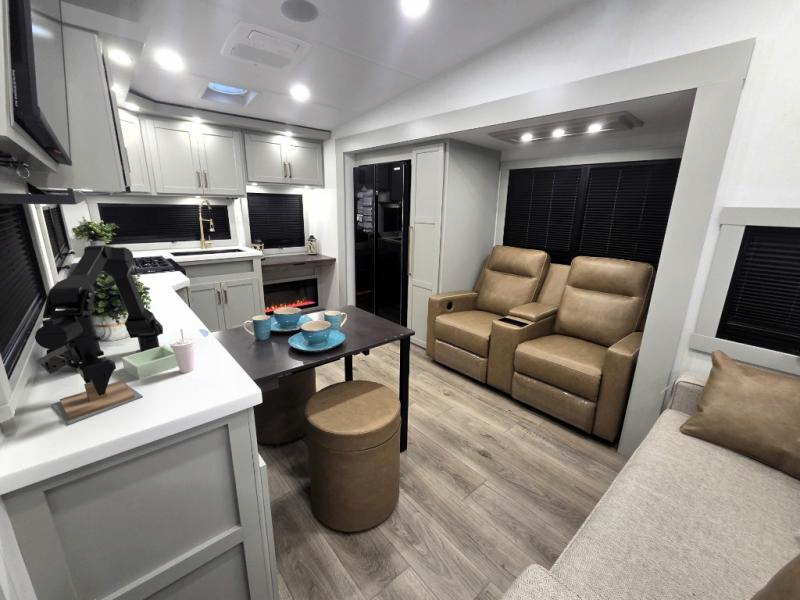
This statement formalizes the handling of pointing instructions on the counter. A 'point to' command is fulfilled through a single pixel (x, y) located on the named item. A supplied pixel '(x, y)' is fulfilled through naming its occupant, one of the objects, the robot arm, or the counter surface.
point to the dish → (150, 362)
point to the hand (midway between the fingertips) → (95, 389)
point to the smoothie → (184, 353)
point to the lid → (95, 399)
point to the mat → (62, 412)
